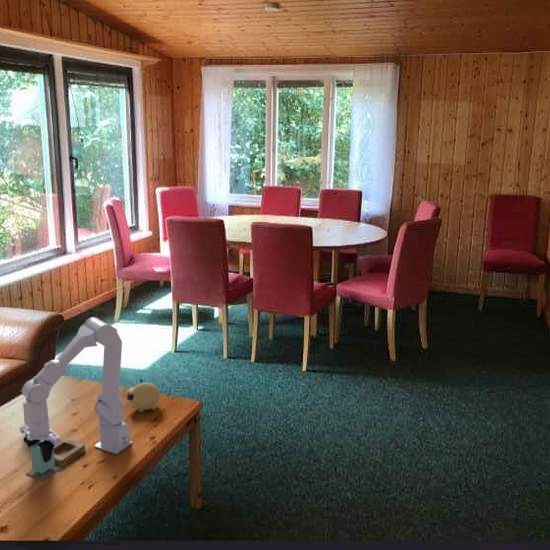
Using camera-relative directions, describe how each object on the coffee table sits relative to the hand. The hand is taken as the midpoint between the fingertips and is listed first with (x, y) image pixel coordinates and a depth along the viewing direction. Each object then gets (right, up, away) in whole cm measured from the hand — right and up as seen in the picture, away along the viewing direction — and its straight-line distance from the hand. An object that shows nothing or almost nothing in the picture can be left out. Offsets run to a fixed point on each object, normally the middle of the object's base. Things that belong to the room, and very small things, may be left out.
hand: (42, 458), depth 180 cm
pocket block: (+3, -2, +10) cm, 11 cm away
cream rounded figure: (+22, +6, +40) cm, 46 cm away
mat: (0, -4, +1) cm, 5 cm away
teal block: (0, -3, +1) cm, 3 cm away
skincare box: (-11, +1, +22) cm, 24 cm away
